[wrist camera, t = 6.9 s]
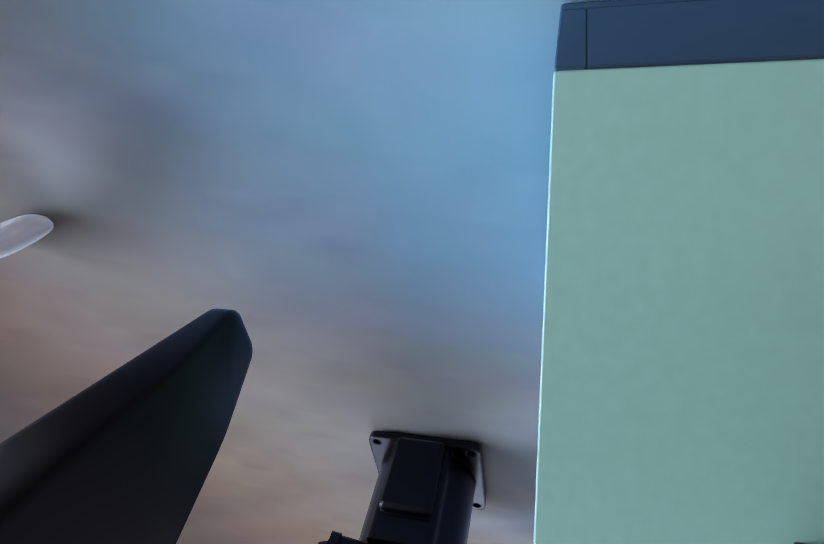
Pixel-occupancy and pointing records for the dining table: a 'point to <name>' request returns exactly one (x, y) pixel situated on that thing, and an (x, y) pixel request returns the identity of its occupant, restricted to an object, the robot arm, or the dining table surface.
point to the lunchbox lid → (684, 307)
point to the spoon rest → (22, 232)
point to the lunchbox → (687, 32)
